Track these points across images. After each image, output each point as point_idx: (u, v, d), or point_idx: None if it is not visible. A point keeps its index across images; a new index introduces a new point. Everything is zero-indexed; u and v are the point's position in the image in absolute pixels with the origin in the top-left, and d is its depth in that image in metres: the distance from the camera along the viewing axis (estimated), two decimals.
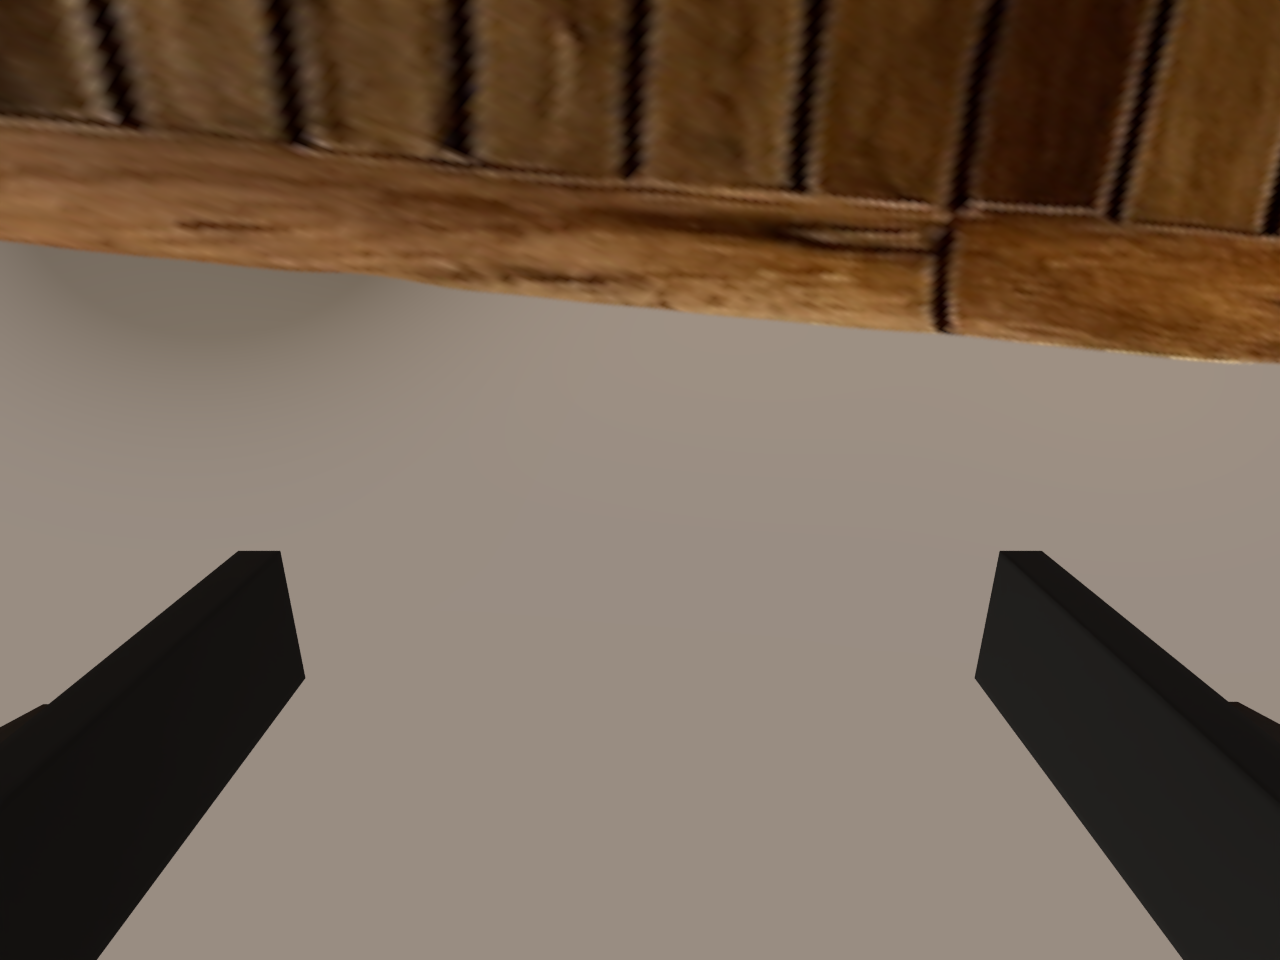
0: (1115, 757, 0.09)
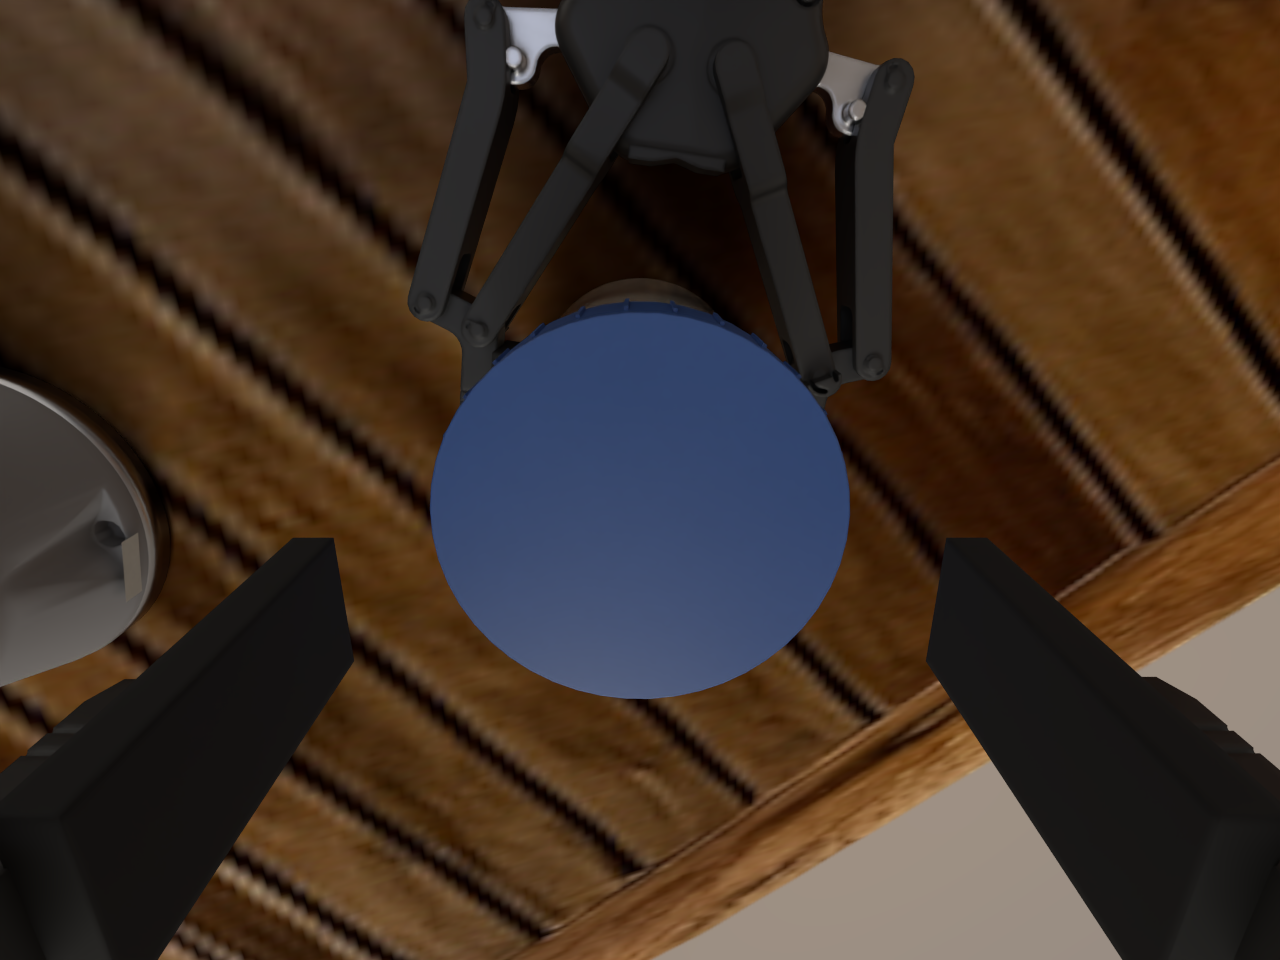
0: (1039, 729, 0.10)
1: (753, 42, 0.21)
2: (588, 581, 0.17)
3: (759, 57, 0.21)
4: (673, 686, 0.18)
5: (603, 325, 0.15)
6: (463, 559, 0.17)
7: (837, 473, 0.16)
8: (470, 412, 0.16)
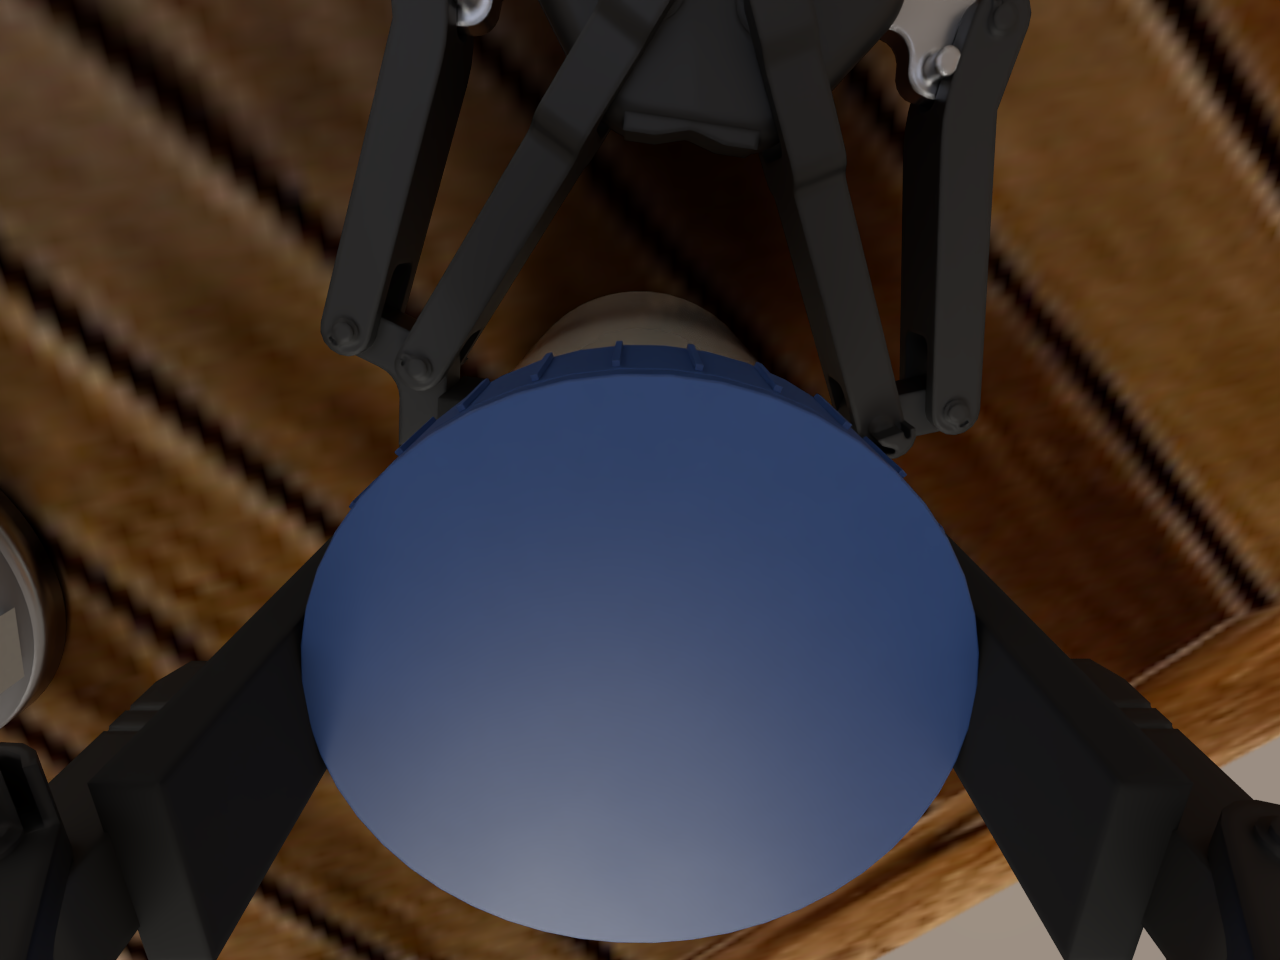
0: (977, 708, 0.10)
1: None
2: (558, 785, 0.11)
3: None
4: (690, 927, 0.12)
5: (577, 396, 0.09)
6: (359, 754, 0.11)
7: (962, 629, 0.10)
8: (357, 536, 0.09)
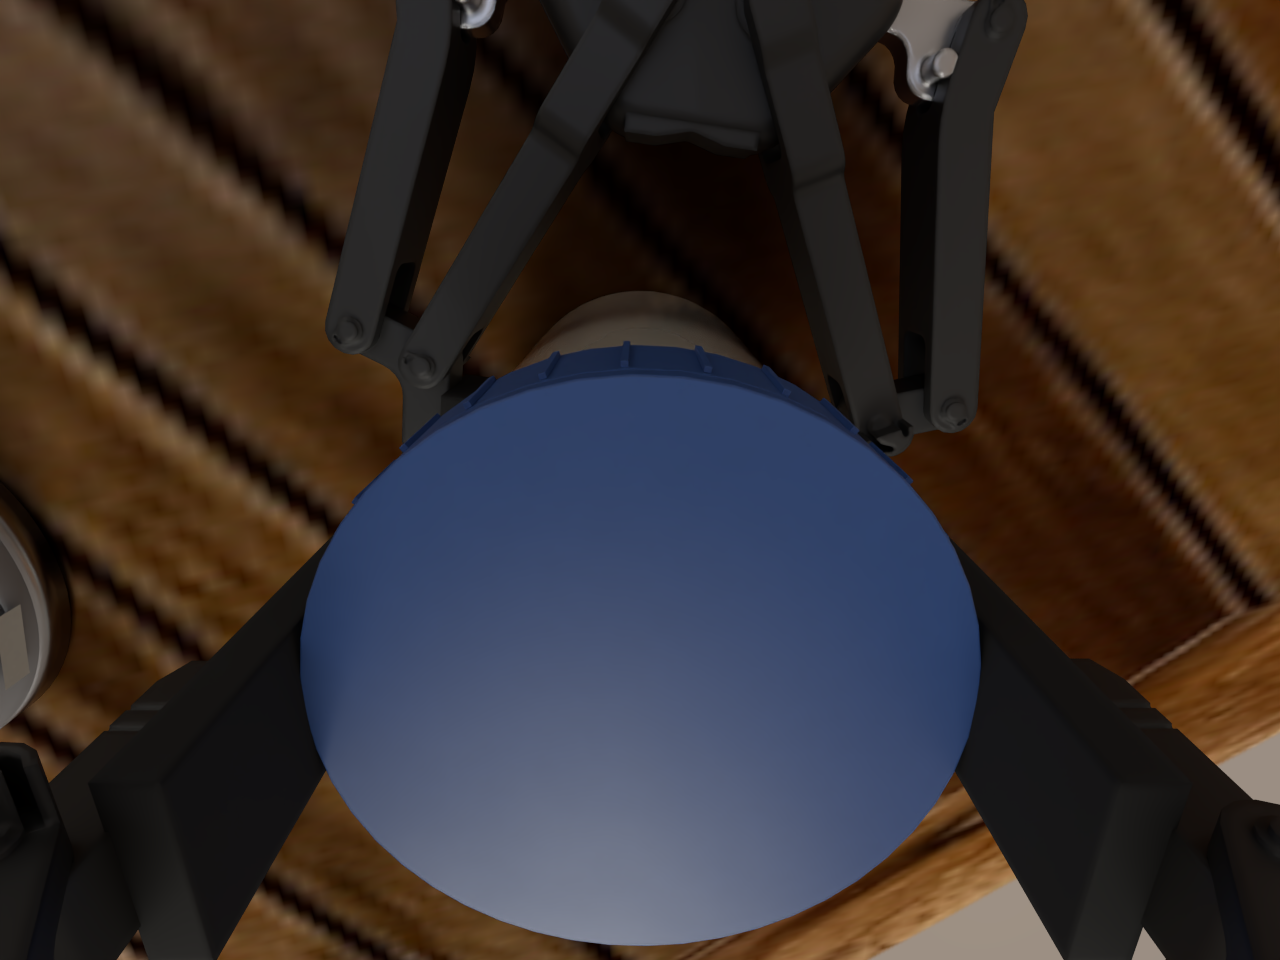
0: (976, 708, 0.10)
1: None
2: (708, 795, 0.11)
3: None
4: (948, 734, 0.11)
5: (314, 674, 0.10)
6: (617, 921, 0.12)
7: (643, 392, 0.09)
8: (408, 853, 0.11)
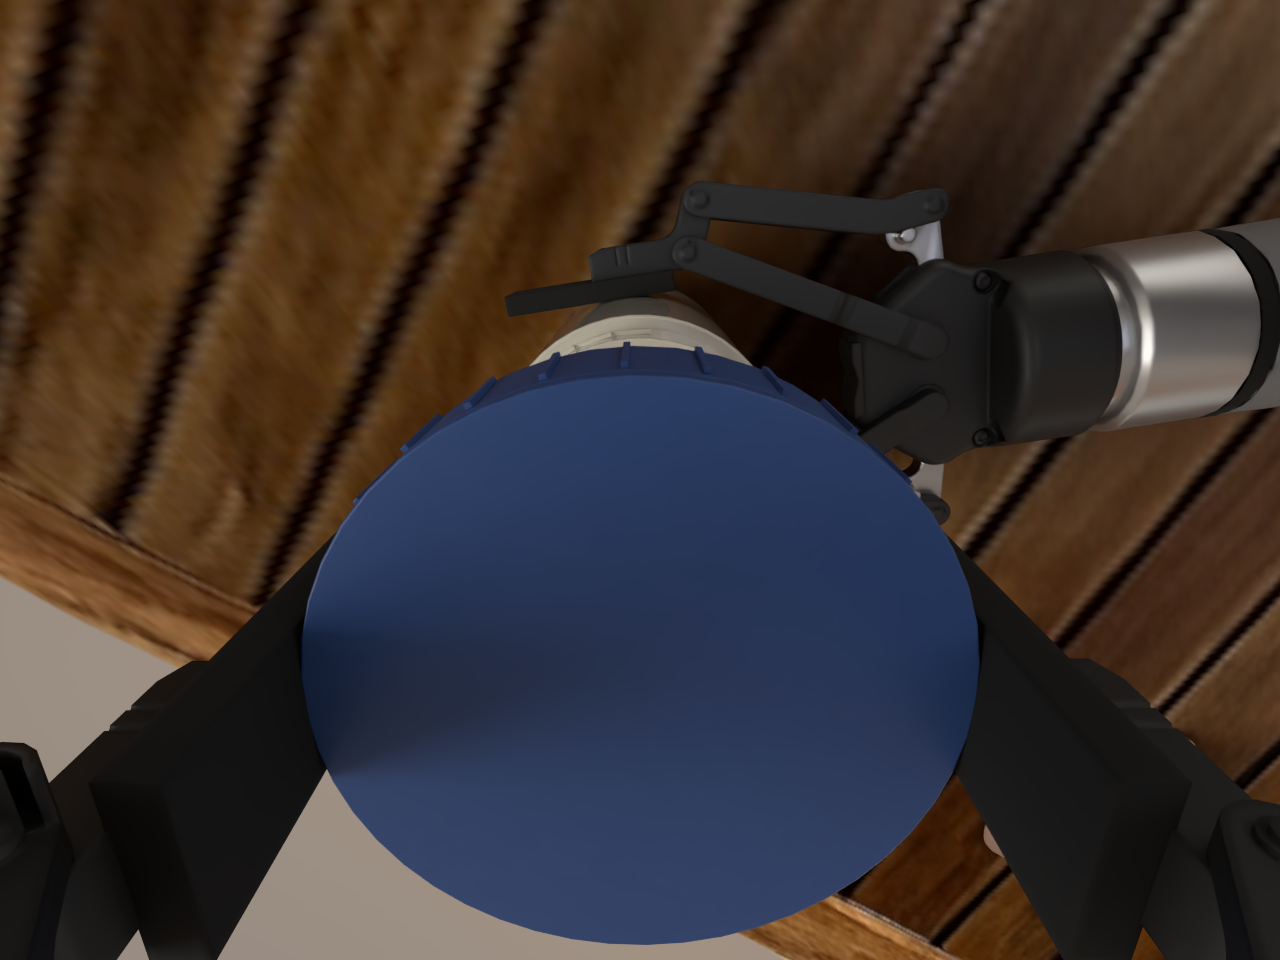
0: (976, 709, 0.10)
1: None
2: (708, 794, 0.11)
3: None
4: (947, 734, 0.11)
5: (315, 673, 0.10)
6: (617, 920, 0.12)
7: (643, 393, 0.09)
8: (409, 852, 0.11)
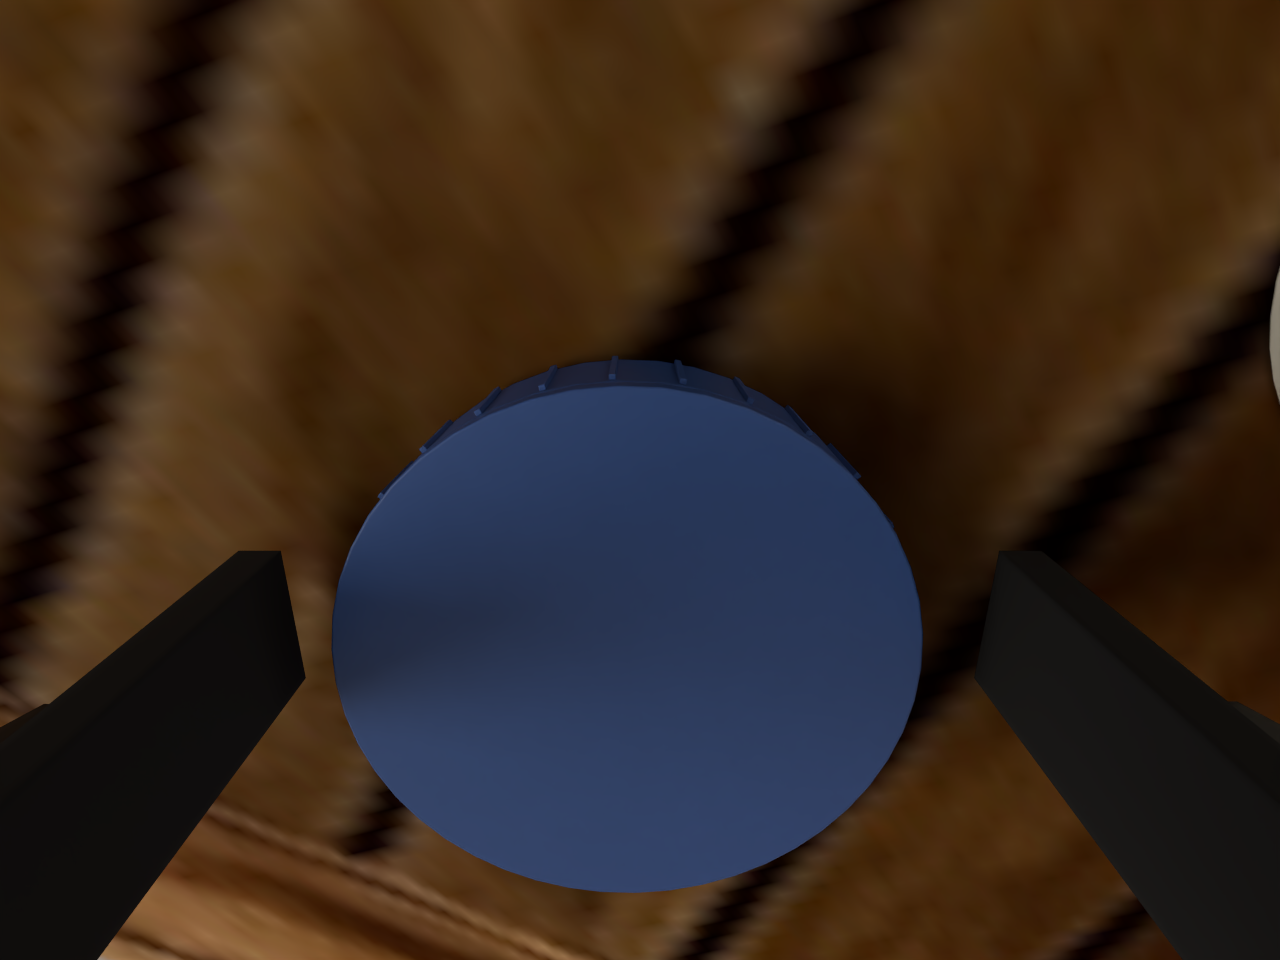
0: (1114, 757, 0.09)
1: None
2: (688, 753, 0.12)
3: None
4: (897, 698, 0.12)
5: (344, 646, 0.12)
6: (609, 869, 0.13)
7: (628, 401, 0.10)
8: (424, 808, 0.13)
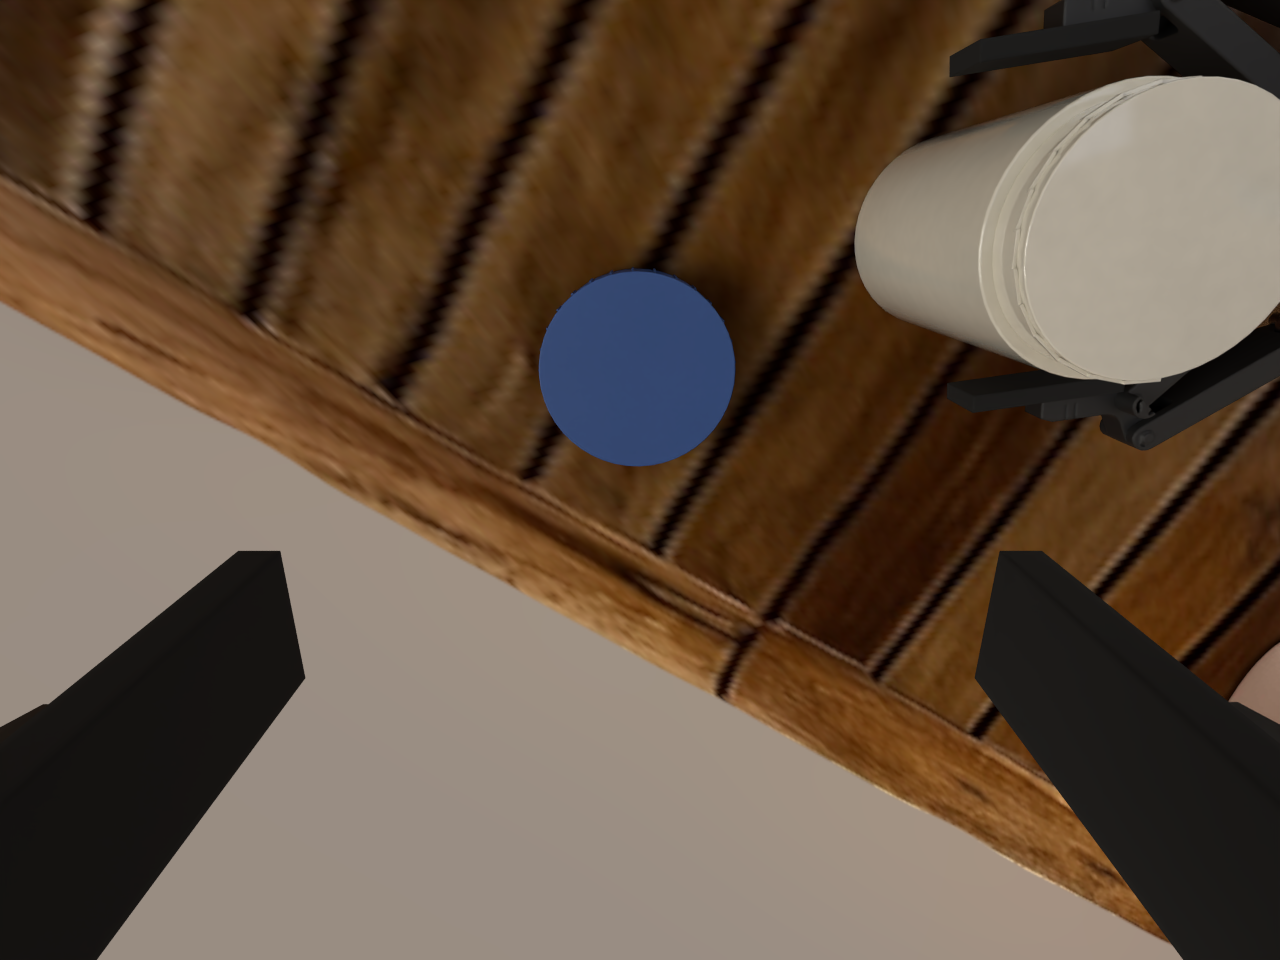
0: (1114, 756, 0.09)
1: None
2: (657, 405, 0.36)
3: None
4: (728, 382, 0.36)
5: (543, 362, 0.35)
6: (630, 455, 0.37)
7: (637, 276, 0.34)
8: (565, 427, 0.37)
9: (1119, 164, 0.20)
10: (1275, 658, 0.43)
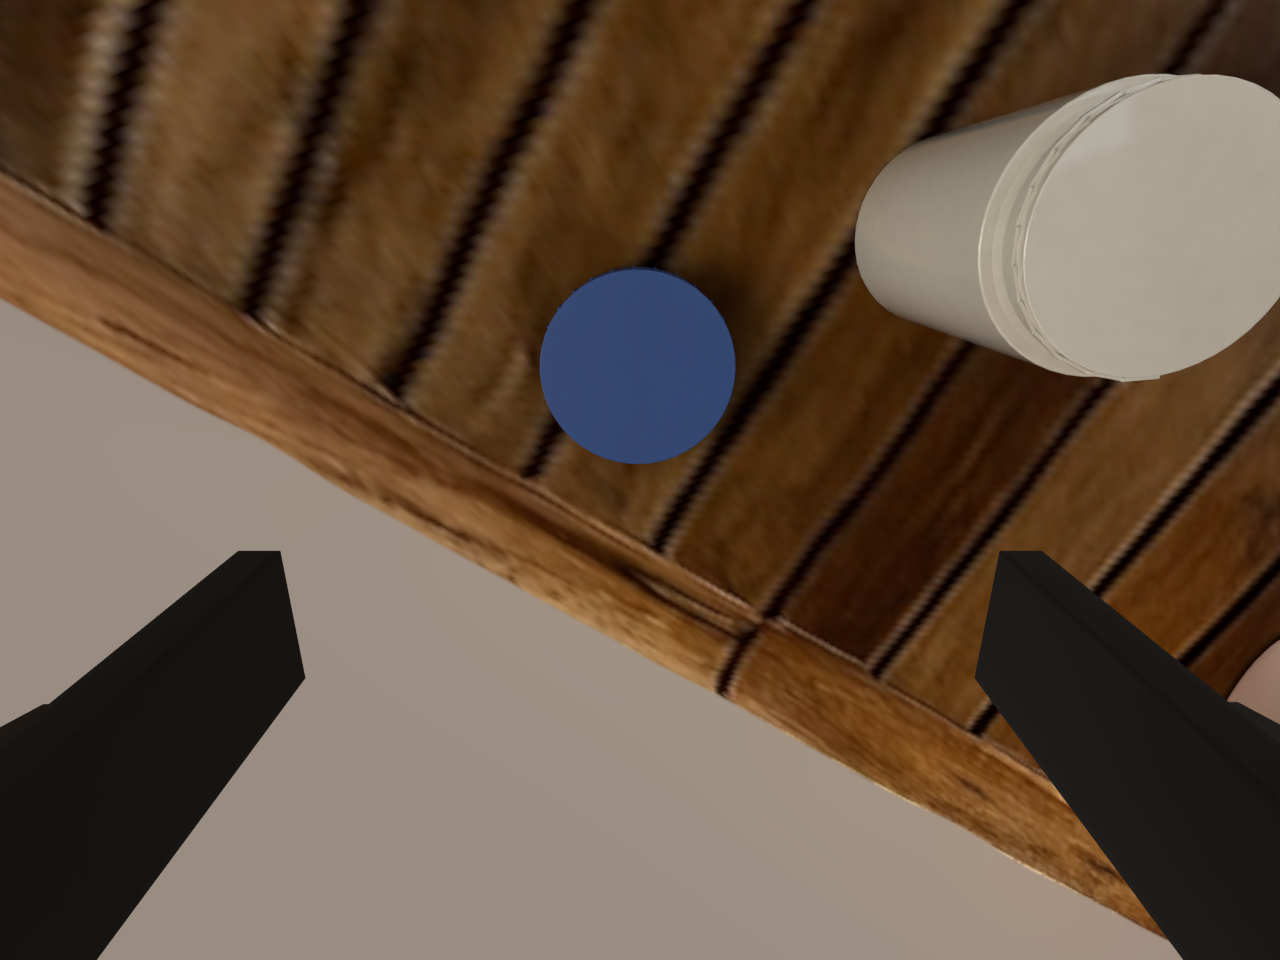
0: (1115, 757, 0.09)
1: None
2: (658, 402, 0.36)
3: None
4: (728, 380, 0.36)
5: (544, 359, 0.36)
6: (630, 452, 0.37)
7: (638, 274, 0.34)
8: (566, 425, 0.37)
9: (1118, 162, 0.20)
10: (1274, 656, 0.44)
